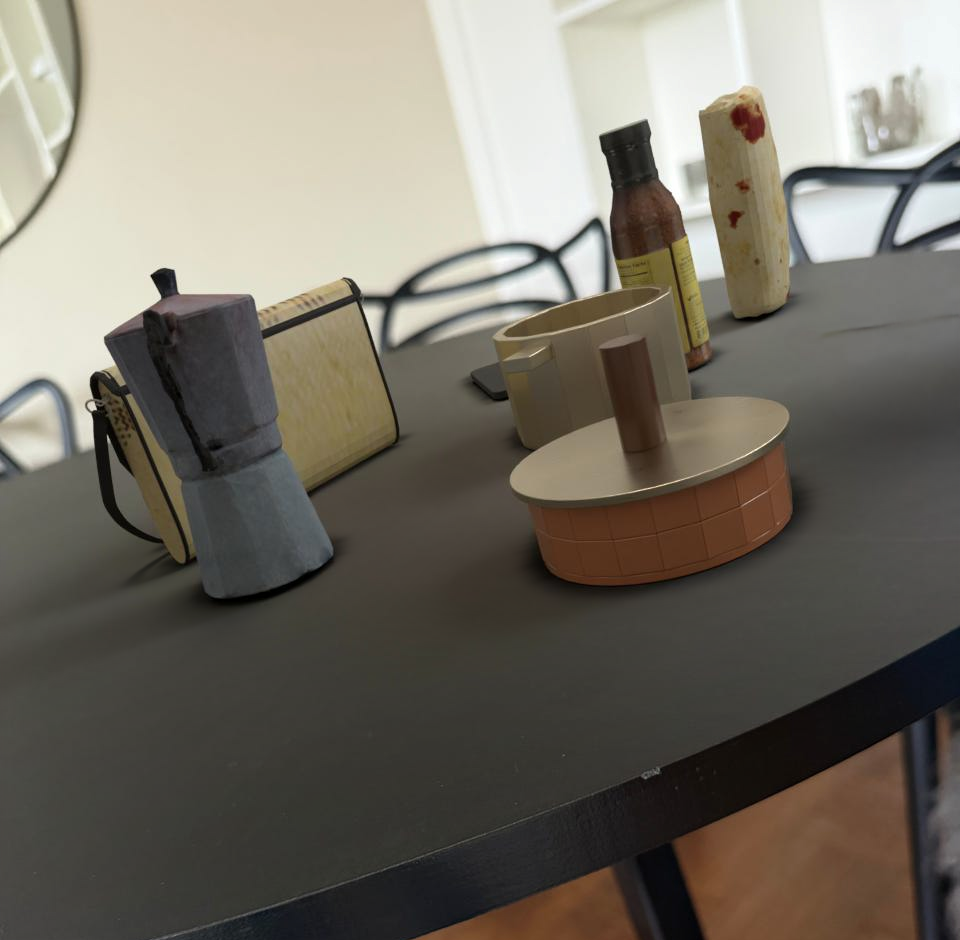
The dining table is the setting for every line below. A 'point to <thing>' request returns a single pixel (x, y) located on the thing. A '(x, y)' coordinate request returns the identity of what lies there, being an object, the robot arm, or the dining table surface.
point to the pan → (668, 528)
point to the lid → (647, 440)
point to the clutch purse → (300, 398)
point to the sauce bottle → (652, 233)
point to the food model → (747, 201)
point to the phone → (491, 380)
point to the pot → (585, 359)
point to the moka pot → (221, 437)
